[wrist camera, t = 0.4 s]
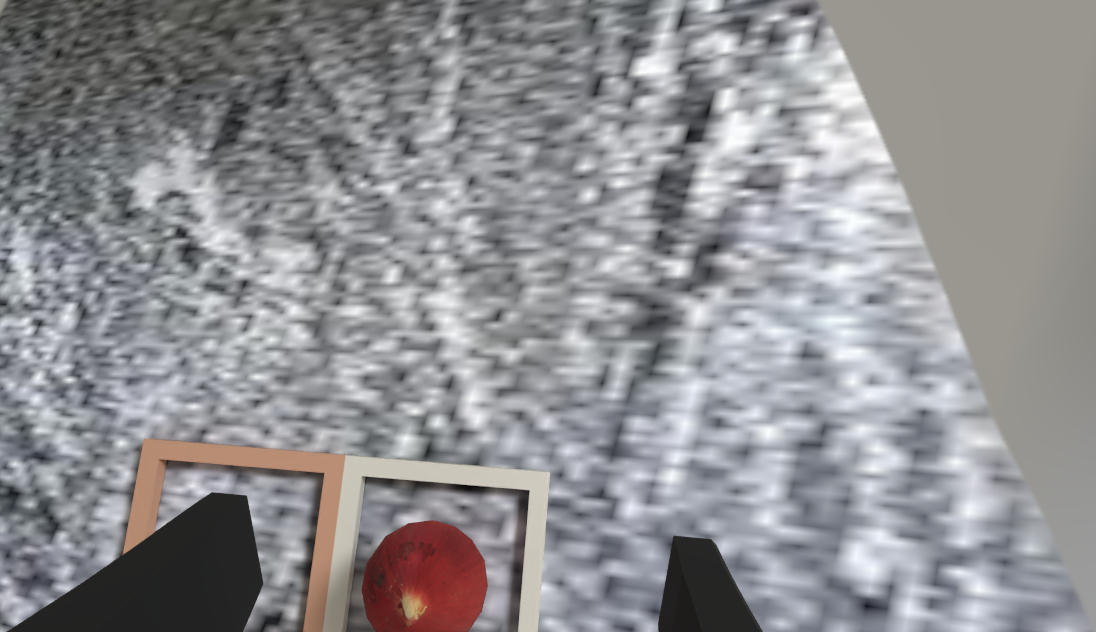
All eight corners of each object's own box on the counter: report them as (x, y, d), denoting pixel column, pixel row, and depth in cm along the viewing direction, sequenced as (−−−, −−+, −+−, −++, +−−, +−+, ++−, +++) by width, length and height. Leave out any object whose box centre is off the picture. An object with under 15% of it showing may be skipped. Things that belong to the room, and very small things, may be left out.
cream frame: (533, 689, 34) (532, 695, 33) (322, 670, 34) (316, 676, 34) (550, 471, 36) (550, 472, 35) (350, 455, 36) (345, 455, 36)
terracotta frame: (322, 670, 34) (316, 676, 34) (114, 651, 35) (104, 656, 34) (350, 455, 36) (345, 455, 36) (152, 438, 37) (143, 438, 36)
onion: (362, 583, 35) (307, 627, 27) (426, 490, 36) (390, 507, 28) (451, 649, 35) (421, 713, 27) (514, 553, 35) (503, 589, 27)
